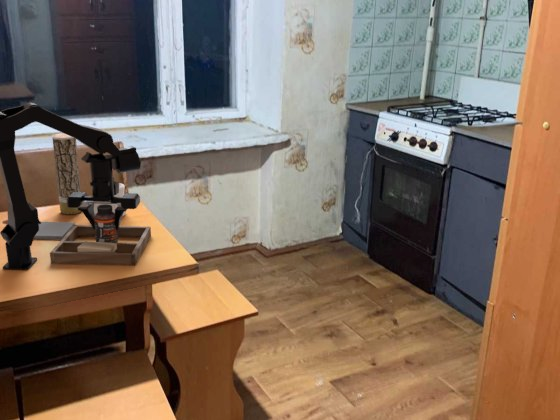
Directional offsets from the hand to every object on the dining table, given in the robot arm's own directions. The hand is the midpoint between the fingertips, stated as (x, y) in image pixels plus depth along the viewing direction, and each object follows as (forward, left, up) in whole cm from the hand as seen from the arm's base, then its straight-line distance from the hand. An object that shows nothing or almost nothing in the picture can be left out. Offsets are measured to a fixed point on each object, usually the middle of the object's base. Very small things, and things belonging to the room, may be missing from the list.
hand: (106, 229), depth 166 cm
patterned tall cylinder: (+26, +19, -5) cm, 32 cm away
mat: (+8, +19, -4) cm, 21 cm away
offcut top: (-9, 0, -2) cm, 10 cm away
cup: (+24, +6, -5) cm, 25 cm away
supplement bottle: (0, 0, -5) cm, 5 cm away
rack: (-3, 0, -4) cm, 6 cm away
